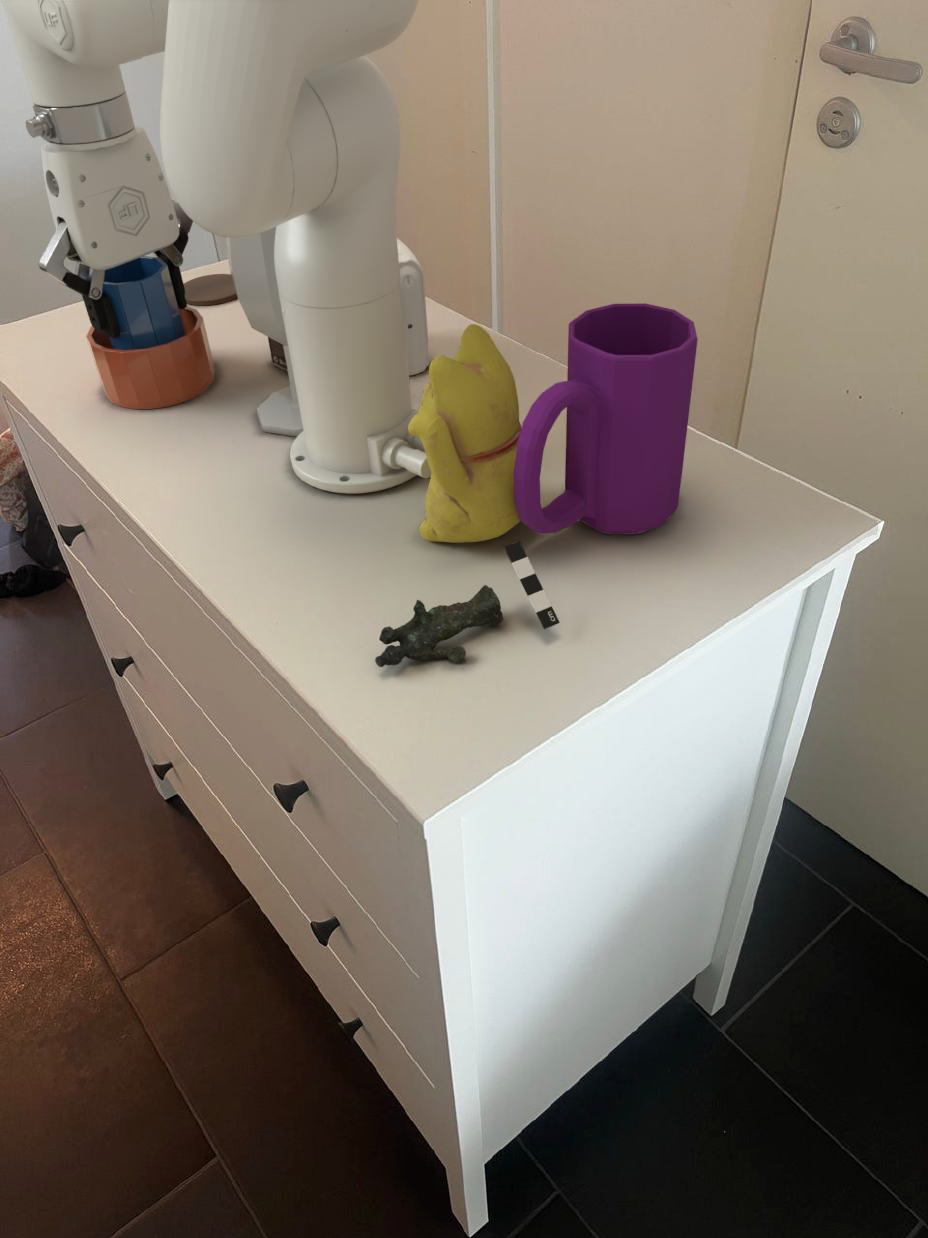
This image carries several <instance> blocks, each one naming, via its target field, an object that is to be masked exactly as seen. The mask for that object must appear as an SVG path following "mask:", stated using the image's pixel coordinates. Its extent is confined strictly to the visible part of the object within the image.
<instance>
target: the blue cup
mask: <svg viewBox="0 0 928 1238" xmlns="http://www.w3.org/2000/svg"><path fill="white" fill-rule="evenodd" d="M102 293H103V294H104V295H106V296H108V297H109V298H110V300H111V304H112V307H113V310H114V314H115V317H116V320H117V324H118V327H119V331H120V335H119V337H117V338H115V339H113V338H111V337H109V338H110V341H111V344H112V348H113V349H117V350H137V349H148V348H152V347H155V346H159V345H163V344H167V343H170V342H172V341H174V340H176V339H179V338H181V337H183V336H185V332H184V328H183V324H182V320H181V317H180V313H179V309H178V305H177V301H176V297H175V293H174V289H173V285H172V281H171V278H170V274H169V270H168V266H167V264H166V263H165V262H164V261H163V260H162V259H161V258H157V257H155V256H149V255H145V256H142V257H140V258H137V259H135V260H132V261H129V262H127V263H124V264H122V265H119V266H116V267H113V268H110V269H107V270H105V276H104V283H103V290H102Z"/></svg>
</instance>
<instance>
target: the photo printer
mask: <svg viewBox="0 0 928 1238" xmlns="http://www.w3.org/2000/svg"><path fill="white" fill-rule="evenodd" d="M397 247H398V259H399V270H400V288H401V298H402V309H403V319H404V330H405V340H406V351H407V361H408V372H409V376H414V375H418V374H421V373H423V372H424V371H426V368H427V367H430V348H429V346H430V345H429V333H428V319H427V318H428V317H427V302H426V301H427V300H426V289H425V277H424V271H423V269H422V266H421V263H420V262H419V260H418V258H417V257H416V256H415V254H414V253H413V252H412V251H411V249H410V248H409V247H408V246H407V245H406V244H405V243H404V242H402V240H400V239H399V238H398V237H397Z"/></svg>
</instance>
